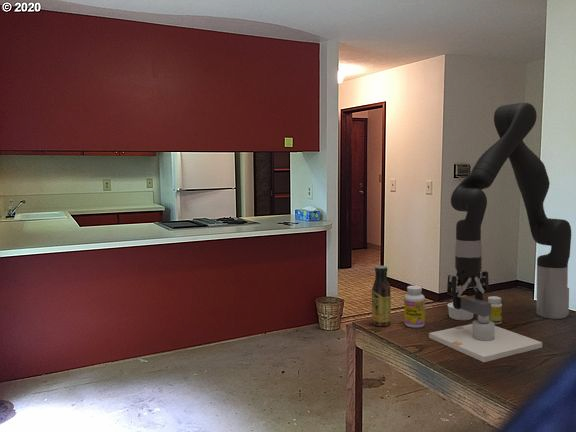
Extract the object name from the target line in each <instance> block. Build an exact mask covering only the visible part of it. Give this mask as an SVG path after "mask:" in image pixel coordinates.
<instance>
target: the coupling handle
mask: <svg viewBox="0 0 576 432" xmlns="http://www.w3.org/2000/svg"><path fill="white" fill-rule="evenodd" d="M460 297H461V309H463V310H465V311H468V312H471V313H474V314H475V315H477V320H478V322H479V323H489V315H491V303H488V301H485V300H483V301H482V300H478V299H475V297H472V296H469V295H466V294H465V295H461V296H460Z"/></svg>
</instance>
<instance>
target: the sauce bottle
mask: <svg viewBox="0 0 576 432" xmlns="http://www.w3.org/2000/svg"><path fill="white" fill-rule="evenodd" d="M374 271H375V280H374V283H373V286H372V288H371V320H372V324H373V325H374V326H376V327H388V326H390V325H391V321H392V320H391V319H392V318H391V317H392V315H391V313H392V309H391V308H392V305H391V304H392V299H391V297H392V295H391V284H390V283H389V282H388V276H387V275H388V266H385V265H376V266H375V267H374Z"/></svg>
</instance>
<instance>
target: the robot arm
mask: <svg viewBox="0 0 576 432" xmlns="http://www.w3.org/2000/svg"><path fill="white" fill-rule="evenodd" d="M494 111H495V112H494V114H493V123H494V127H495V130H496V132H497V134H498V137H499V139H498V140H497V141H496V142H495V143H494V144H493V145H491V146H490V147H489V148H488V149H486V151H484V152H483V153H482V154H481V155H480V157H479V158H478V160H477V161H476V163H475V165H474V166H473V168H472V170H471V171H470V173H469V174H468V175H467V176H466V177H465V178H464V179H463V180H462V181H461V182H460V183H459V184H458V185H457V186H456V187H455V188H454V190H453V191H452V194H451V197H450V204H451V206H452V208H453V209H454V210H455V211H458V212H465V213H466V215H465V217H464V219H460V220H458V221H457V222H456V225H455V239H456V240H455V246H454V247H455V249H454V250H455V251H454V254H455V255H454V257H455V258H454V267H455V268H454V269H455V270H456V274H455V275H452V274H448V275H447V286H446V294H447V295H449V296H452V302H453V306H454V308H455V309H461V297H460V296H462V294H463V292H465V291H466V289H470V288H473V290H475V292H474V293H475V294H474V295H475V297H474V298H475V299H478V300H482V301H484V293H485V292H486V291H489V289H490V288H489V287H490V284H489V281H490V280H489V271H487V270H482V267H483V266H482V263H483V262H482V260H483V259H482V258H483V257H482V253H483V252H482V249H483V247H482V223H483V221H484V217H485V213H486V210H487V205H488V198H487V195H486V193H485V192H484V191H483V190H485V189H487V188H490V187H491V186H492V184H493V183H494V181H495V179H496V178H497V176H498V174H499V173H500V171H501V169H502V168H503V166H504V164H505V163H506V161H507V160H509V162H510V165H511V168H512V171H513V174H514V177H515V178H514V179H515V181H516V184H517V187H518V189H519V192H520V194H521V195H520V196H521V198H522V200H523V203H524V208H525V211H526V215H527V219H528V221H527V222H528V226H529V230H530V233H531V234H530V235H531V236H532V239H533V241H535V243H537V244H538V245H543V246H547V247H548V246H550V252H548V253H547V254H542V255H538V257H536V259H537V260H536V315H537V316H539V317H542V318H547V319H554V320H555V319H556V320H560V319H561V320H562V319H565V318H567V316H569V315H570V313H569V312H570V288H569V287H568V283H569V281H568V278H569V277H568V274H569V272H568V271H569V270H568V269H569V267H568V266H569V261H570V257H571V244H572V227H571V224H570V222H569V221H568V220H566V219H562V218H561V219H560V218H551V217H547V214H546V213H545V207H544V202H545V199H546V197H547V194H548V192H549V189H550V184H551V183H550V179H549V176H548V173H547V169H546V165H545V164H544V162H543V161H542V160H541V158H539V156H538V155H536V154H535V152H533V150H532V149H530V148H529V147H528V146H527V144H526V143H525V142H524V139H525V138H526V137H527V136H528V134H529V133H530V132H531V130H533V128H534V127H535V124H536V121H537V116H538V115H537V111H536V107H535V106H534V105H533V104H531V103H529V102H519V103H511V104H510V103H509V104H505V105H504V104H503V105H500V106H498V107H497V108H496V109H495V110H494Z"/></svg>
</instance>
